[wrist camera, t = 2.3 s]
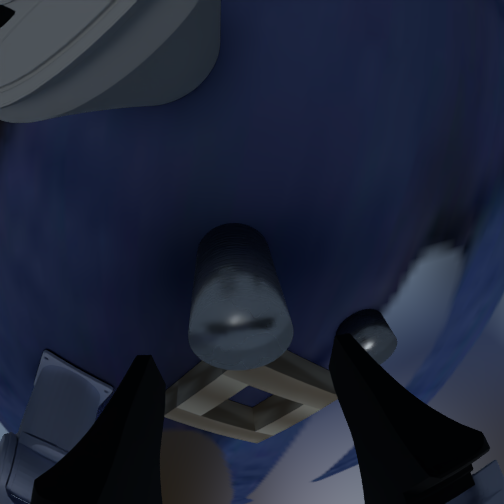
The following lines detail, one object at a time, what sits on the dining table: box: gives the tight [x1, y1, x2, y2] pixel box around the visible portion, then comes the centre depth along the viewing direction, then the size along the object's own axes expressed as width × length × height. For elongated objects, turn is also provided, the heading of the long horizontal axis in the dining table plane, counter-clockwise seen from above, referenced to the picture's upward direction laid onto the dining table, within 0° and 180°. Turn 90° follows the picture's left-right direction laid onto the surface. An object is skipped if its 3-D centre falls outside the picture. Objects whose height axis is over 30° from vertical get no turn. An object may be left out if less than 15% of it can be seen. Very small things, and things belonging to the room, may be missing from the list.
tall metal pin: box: [188, 223, 293, 370], centre depth 15 cm, size 4×4×7 cm
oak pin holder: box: [164, 350, 338, 443], centre depth 24 cm, size 12×12×3 cm
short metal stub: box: [336, 309, 397, 365], centre depth 21 cm, size 4×4×3 cm
